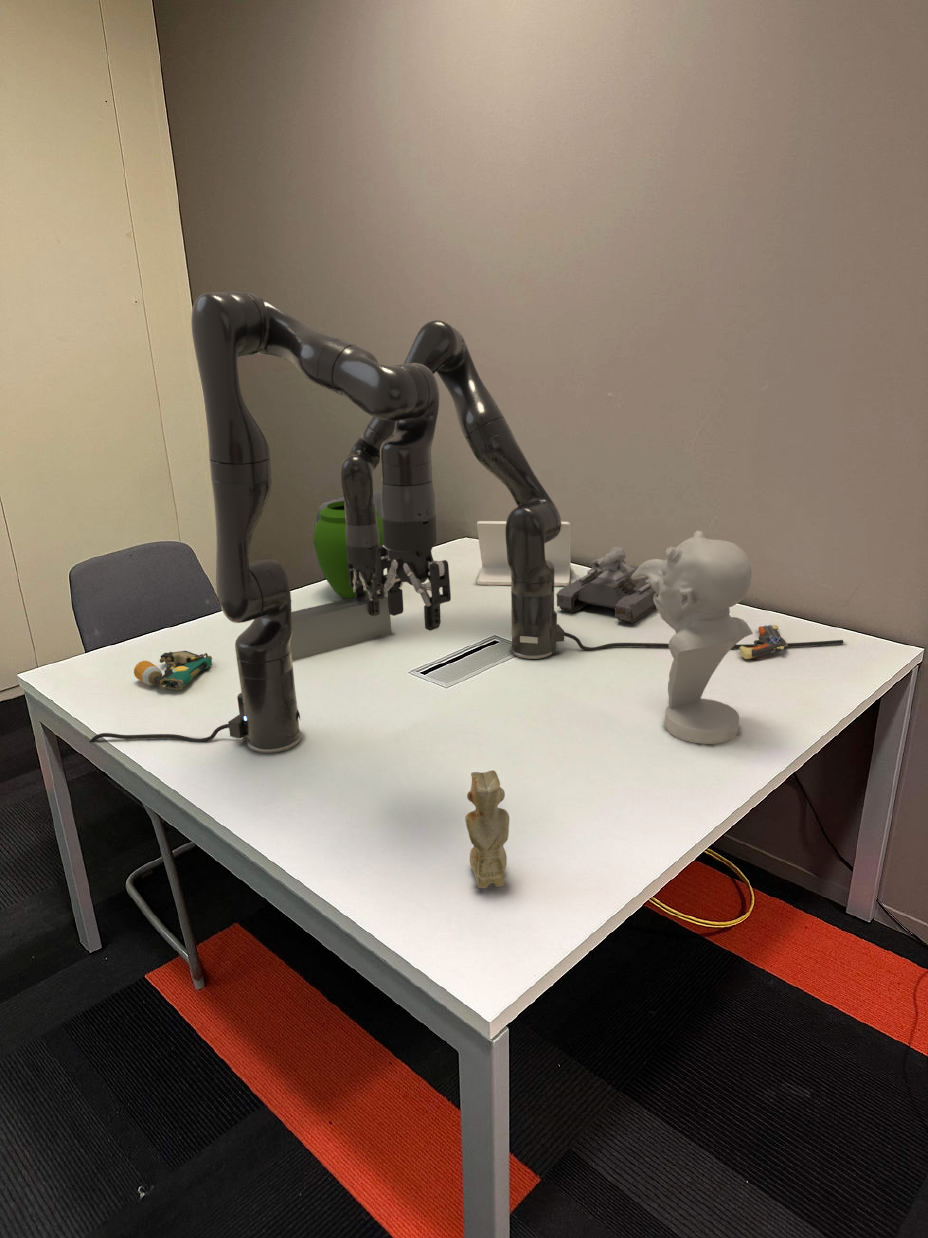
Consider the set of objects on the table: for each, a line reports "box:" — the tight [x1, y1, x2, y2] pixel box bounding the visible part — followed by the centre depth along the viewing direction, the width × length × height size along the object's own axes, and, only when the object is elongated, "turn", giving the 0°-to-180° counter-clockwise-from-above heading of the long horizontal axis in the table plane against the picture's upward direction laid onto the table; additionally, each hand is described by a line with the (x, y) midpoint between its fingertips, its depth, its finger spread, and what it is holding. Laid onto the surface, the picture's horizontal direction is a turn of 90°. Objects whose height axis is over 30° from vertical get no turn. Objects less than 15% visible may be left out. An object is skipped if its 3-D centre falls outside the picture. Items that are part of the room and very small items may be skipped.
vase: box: [312, 500, 384, 600], centre depth 223 cm, size 20×20×24 cm
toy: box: [556, 546, 656, 624], centre depth 212 cm, size 25×20×15 cm
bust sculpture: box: [631, 530, 754, 745], centre depth 151 cm, size 16×24×35 cm, turn 28°
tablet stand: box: [476, 520, 572, 587], centre depth 236 cm, size 18×25×17 cm
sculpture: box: [464, 769, 510, 889], centre depth 113 cm, size 6×7×15 cm
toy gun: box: [739, 624, 788, 660], centre depth 187 cm, size 3×19×10 cm
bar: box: [290, 594, 392, 662], centre depth 194 cm, size 26×6×9 cm, turn 124°
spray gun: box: [133, 650, 213, 690], centre depth 180 cm, size 4×17×15 cm
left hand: (414, 621), depth 125 cm, fingers open, 8 cm apart
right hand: (368, 610), depth 198 cm, fingers open, 6 cm apart
